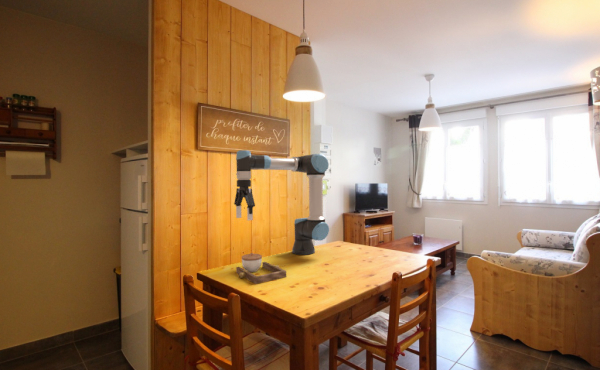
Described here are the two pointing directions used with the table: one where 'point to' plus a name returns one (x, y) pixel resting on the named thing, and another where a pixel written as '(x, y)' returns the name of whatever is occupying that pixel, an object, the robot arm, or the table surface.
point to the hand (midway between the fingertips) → (244, 219)
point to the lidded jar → (251, 262)
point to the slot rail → (262, 278)
